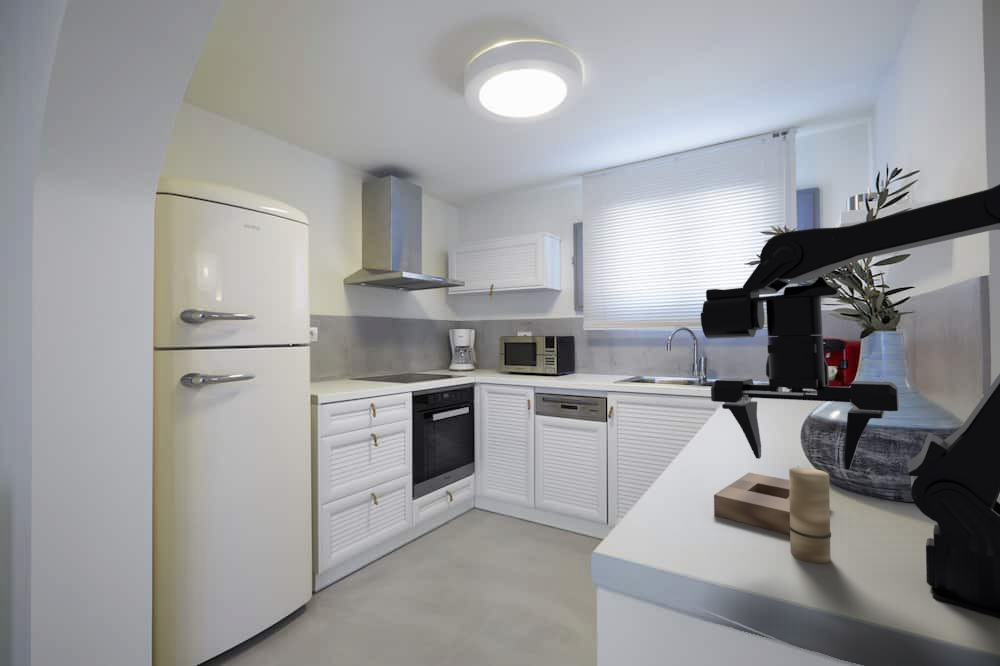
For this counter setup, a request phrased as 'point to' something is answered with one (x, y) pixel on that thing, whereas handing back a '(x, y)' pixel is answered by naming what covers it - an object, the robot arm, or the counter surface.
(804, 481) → the oak peg
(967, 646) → the counter surface
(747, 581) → the counter surface
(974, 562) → the robot arm
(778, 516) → the walnut board
